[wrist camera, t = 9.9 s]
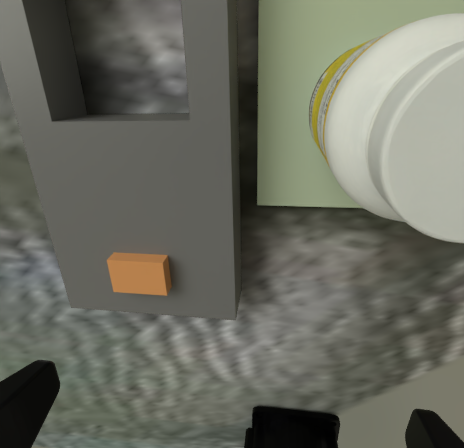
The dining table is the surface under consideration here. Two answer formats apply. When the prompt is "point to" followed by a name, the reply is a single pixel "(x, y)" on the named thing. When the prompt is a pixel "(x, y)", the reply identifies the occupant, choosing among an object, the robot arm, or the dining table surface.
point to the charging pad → (312, 85)
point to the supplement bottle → (399, 124)
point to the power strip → (134, 168)
